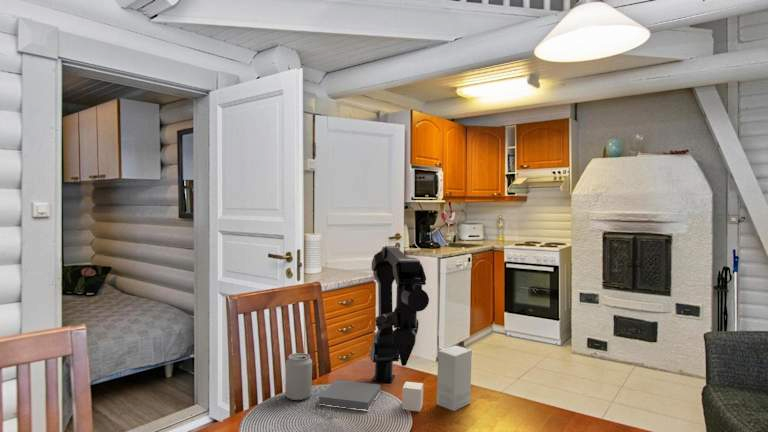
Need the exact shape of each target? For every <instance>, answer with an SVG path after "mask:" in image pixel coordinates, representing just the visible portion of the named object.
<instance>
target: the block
mask: <svg viewBox="0 0 768 432" xmlns="http://www.w3.org/2000/svg"><path fill="white" fill-rule="evenodd" d="M401 391H402V393H401V394H402V396H401V409H402V408H406V409H408V410H407V411H412V412H419V413H420V412H421V410H422V407H423V404H424V383H422V382H413V381H405V382H404V384H403V386H402V390H401Z"/></svg>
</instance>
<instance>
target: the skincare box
mask: <svg viewBox="0 0 768 432" xmlns="http://www.w3.org/2000/svg"><path fill="white" fill-rule="evenodd" d="M437 351H438V352H437V379H436V380H437V381H436V382H437V384H436V385H437V386H436V390H437V391H436V405H437V406H439V407H442V408H445V409H447V410H449V411H452V412H456V411H457V410H460V409H461V408H463V407H466V406H468V405H470V404H471V394H472V393H471V391H472V390H471V389H472V388H471V387H472V386H471V385H472V383H471V382H472V352H473V350H472V349H470V348H467V347H462V346H459V345H452V346H449V347H446V348H443V349H439V350H437Z"/></svg>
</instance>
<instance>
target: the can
mask: <svg viewBox="0 0 768 432" xmlns="http://www.w3.org/2000/svg"><path fill="white" fill-rule="evenodd" d="M310 357H311V355H310V354H308V353H305V352H296V353H290V354H289V355H288V358H287V359H286V361H285V379H284V380H285V385H284V386H285V387H284V391H285V392H284V396H285V397H286V398H287V399H288V398H289V399H291V400H290V401H292V400H302V399H305V400H307V399H309V397H310V396H311V395H312V390H313V389H312V386H313V385H312V384H313V383H312V382H313V379H312V378H313V359H311V358H310ZM306 398H307V399H306ZM289 399H288V400H289ZM302 401H303V400H302Z"/></svg>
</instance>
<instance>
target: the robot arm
mask: <svg viewBox="0 0 768 432" xmlns="http://www.w3.org/2000/svg"><path fill="white" fill-rule="evenodd" d="M424 270H425V269H424V266H423V263H422V262H421V261H420V259H419V258H415V257H411V256H407V255H406V254H405V253H403V251H402V250H400V247H399V246H397V245H391V246H390V245H385V246H382V248H381V250H380V251H379V252H378V251H377V253H375V254H374V255H373V258H372V261H371V271H372V275H373V278H374V280H375V281H376V283H377V284H378V285H377V287H378V289H377V290H378V296H377V297H378V299H377V300H378V303H377V304H378V315H377V316H376V317H375V318H374V322H375V326H376V328H377V331H376V333H375V334H374V336H373V343H372V344H371V348H370V350H369V359H370V361H371V362H372V363H373V364H374V375H373V377H372V378H371V381H372V382H379V383H388V384H392V383H393V380H394V379H395V377H396V375H395V374H393V368H394V367H393V364H394V362H399V359H400V365H401V367H405V366H407V363H408V361H409V360H410V359H409V358H410V356H411V354H412V352H413V350H414V346H416V345H415V344H416V340H417V334H418V331H419V323H420V321H419V319H418V318H417V317H418V316H417V314H418V313H417V312H423V311H424V310H425V309H426V308H427V307H428V306H429V302H430V298H429V295H428V293H427V292H426V291H425V290H424V289H423V286H425V285H426V283H427V282H426V280H427V277H426V274H425V271H424ZM394 281H395V284H396V299H395V300H396V302H395V308H394V311H393V283H394Z"/></svg>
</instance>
